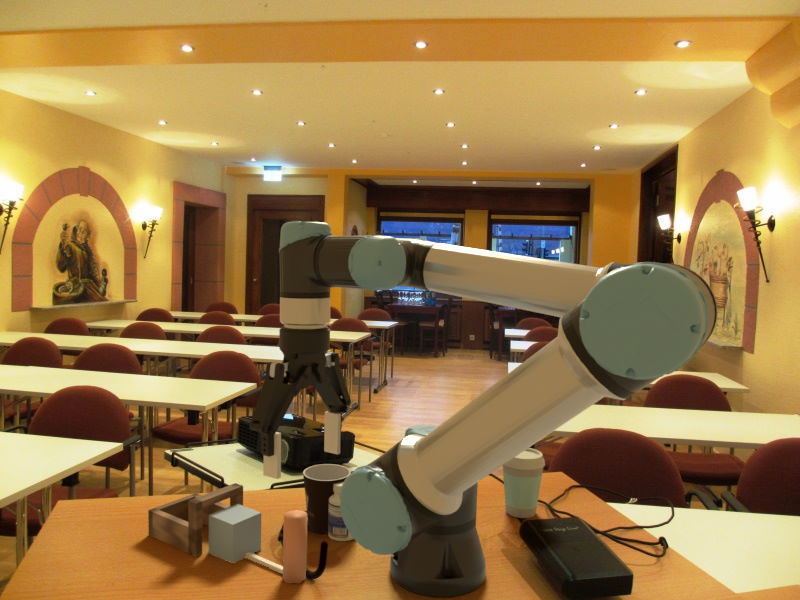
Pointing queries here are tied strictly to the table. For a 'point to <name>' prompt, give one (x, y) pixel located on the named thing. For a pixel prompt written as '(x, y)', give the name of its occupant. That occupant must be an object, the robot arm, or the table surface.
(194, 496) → the wooden frame
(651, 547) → the table surface
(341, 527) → the pill bottle
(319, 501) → the coffee mug
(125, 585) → the table surface
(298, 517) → the lopsided dumbbell
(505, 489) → the coffee cup
